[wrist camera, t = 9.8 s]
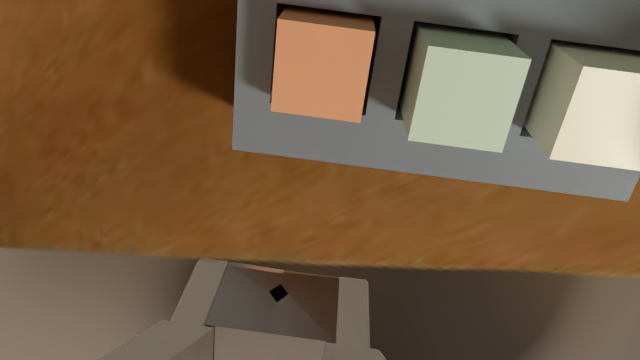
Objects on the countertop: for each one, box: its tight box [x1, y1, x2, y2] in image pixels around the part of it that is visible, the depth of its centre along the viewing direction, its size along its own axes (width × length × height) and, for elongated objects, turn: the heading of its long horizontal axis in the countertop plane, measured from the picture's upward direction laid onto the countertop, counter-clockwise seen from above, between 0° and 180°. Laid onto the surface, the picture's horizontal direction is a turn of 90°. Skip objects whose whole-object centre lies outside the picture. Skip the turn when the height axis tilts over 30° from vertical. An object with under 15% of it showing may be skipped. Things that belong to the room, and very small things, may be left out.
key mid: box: [399, 21, 532, 153], centre depth 23 cm, size 4×4×6 cm
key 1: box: [271, 4, 375, 123], centre depth 24 cm, size 4×4×6 cm
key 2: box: [523, 39, 640, 171], centre depth 23 cm, size 4×4×6 cm
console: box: [232, 0, 640, 202], centre depth 25 cm, size 20×10×5 cm, turn 83°
